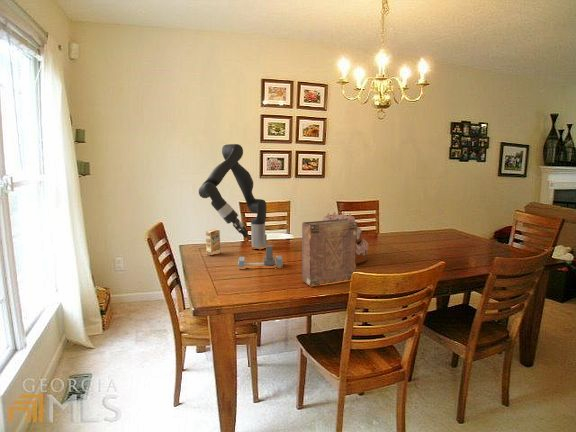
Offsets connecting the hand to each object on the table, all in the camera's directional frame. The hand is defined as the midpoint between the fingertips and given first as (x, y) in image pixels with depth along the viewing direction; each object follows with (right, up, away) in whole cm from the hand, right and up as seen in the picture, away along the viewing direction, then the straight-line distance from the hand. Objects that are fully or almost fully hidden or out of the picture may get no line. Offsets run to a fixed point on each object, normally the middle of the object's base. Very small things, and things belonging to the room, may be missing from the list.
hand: (246, 234), depth 205 cm
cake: (+53, -15, +18) cm, 58 cm away
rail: (+8, -18, +1) cm, 20 cm away
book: (+43, -22, -22) cm, 53 cm away
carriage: (+12, -17, +1) cm, 21 cm away
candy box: (-24, -14, +27) cm, 39 cm away
